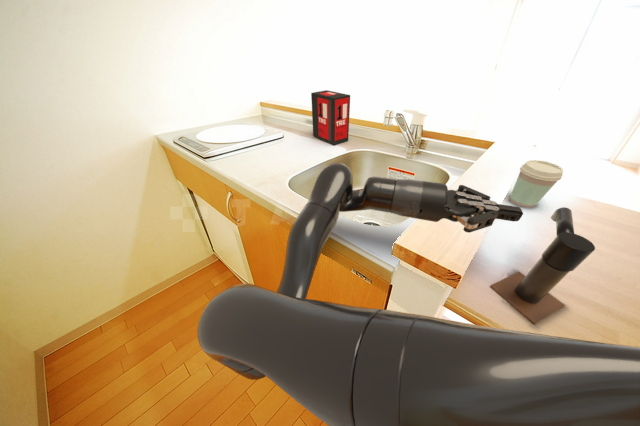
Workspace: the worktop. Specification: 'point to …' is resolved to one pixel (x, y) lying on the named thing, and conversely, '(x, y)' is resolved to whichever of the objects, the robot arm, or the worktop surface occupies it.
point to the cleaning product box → (330, 116)
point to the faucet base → (532, 291)
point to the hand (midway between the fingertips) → (519, 214)
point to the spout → (566, 244)
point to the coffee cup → (534, 182)
